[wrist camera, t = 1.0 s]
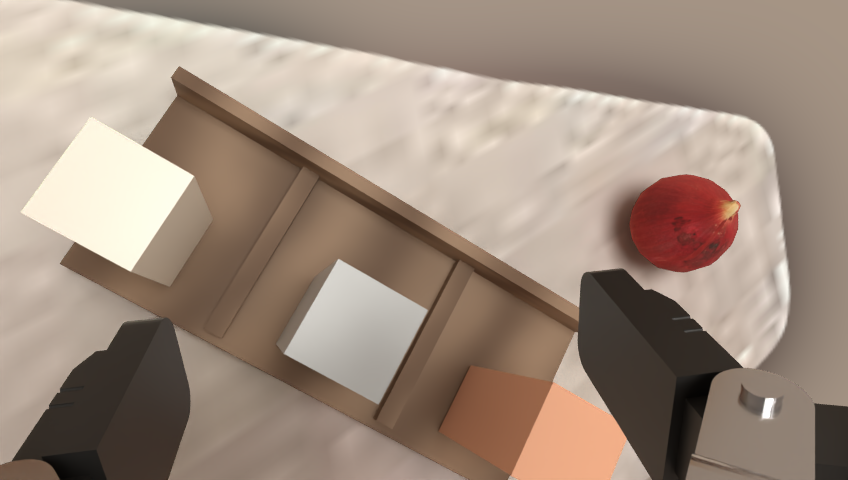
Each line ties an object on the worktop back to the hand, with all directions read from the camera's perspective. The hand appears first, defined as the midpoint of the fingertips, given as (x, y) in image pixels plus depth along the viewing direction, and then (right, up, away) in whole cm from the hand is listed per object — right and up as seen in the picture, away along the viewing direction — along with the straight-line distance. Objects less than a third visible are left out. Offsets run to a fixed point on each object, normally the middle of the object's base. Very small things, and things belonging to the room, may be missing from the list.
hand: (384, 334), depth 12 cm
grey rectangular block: (-4, -3, +21) cm, 21 cm away
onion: (+15, +2, +29) cm, 33 cm away
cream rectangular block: (-13, +2, +19) cm, 23 cm away
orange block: (+4, -8, +22) cm, 24 cm away
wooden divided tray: (-4, -1, +23) cm, 23 cm away
